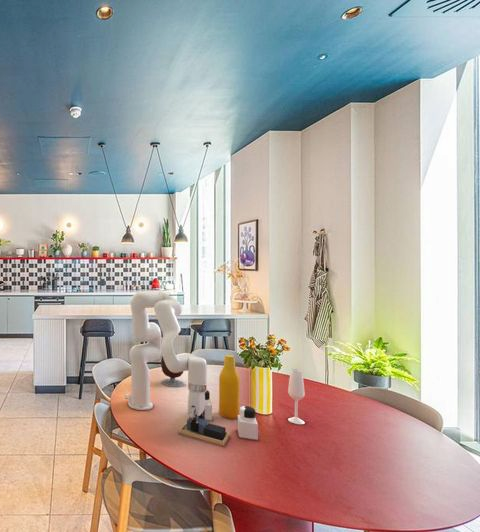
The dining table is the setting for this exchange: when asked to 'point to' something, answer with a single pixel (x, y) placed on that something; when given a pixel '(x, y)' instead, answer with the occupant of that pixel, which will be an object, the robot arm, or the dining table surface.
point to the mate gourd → (167, 372)
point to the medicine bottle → (247, 423)
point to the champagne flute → (296, 392)
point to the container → (207, 407)
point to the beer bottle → (229, 389)
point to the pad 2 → (215, 431)
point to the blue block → (201, 425)
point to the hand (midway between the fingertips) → (197, 427)
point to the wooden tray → (202, 435)
